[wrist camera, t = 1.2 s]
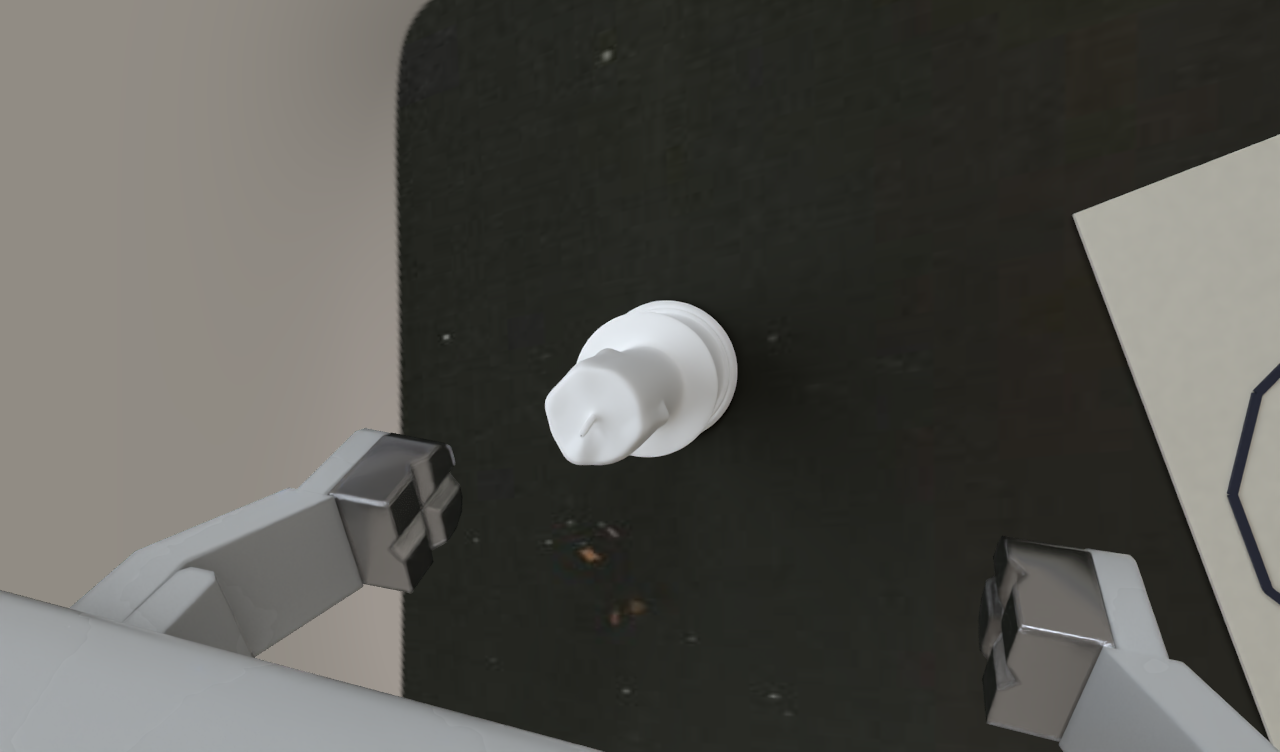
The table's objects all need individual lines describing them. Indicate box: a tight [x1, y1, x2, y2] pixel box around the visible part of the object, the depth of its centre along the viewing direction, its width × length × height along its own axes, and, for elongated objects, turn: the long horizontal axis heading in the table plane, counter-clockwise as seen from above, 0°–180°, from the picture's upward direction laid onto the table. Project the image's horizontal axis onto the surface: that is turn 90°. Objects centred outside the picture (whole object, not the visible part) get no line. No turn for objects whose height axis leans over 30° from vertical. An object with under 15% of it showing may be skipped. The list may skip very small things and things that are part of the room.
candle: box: [545, 301, 737, 465], centre depth 23 cm, size 5×5×12 cm
